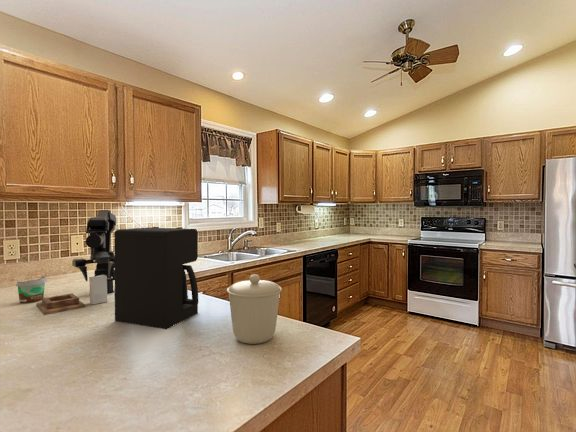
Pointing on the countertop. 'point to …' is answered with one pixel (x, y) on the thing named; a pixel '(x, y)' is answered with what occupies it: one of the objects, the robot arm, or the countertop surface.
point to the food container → (31, 290)
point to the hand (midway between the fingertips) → (98, 279)
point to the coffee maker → (155, 276)
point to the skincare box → (98, 289)
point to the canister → (254, 309)
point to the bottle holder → (59, 303)
